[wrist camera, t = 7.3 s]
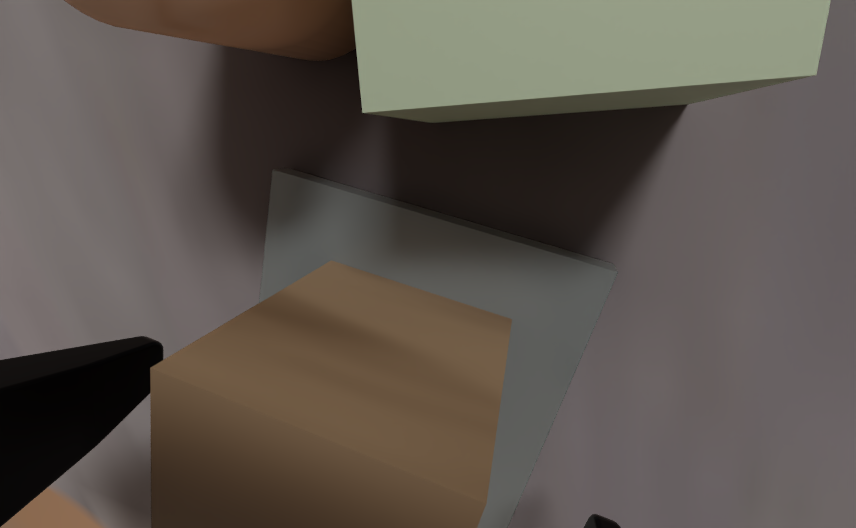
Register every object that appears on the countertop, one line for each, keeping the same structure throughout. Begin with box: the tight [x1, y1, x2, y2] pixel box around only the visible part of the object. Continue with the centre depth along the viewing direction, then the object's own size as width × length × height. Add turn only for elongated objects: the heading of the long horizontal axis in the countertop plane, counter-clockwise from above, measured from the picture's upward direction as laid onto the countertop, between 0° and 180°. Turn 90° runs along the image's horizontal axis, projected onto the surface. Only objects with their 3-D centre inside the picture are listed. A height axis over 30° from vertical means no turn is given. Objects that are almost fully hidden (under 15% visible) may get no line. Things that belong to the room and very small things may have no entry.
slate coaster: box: [259, 168, 618, 528], centre depth 11 cm, size 8×8×1 cm
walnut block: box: [150, 260, 512, 528], centre depth 8 cm, size 4×4×5 cm
